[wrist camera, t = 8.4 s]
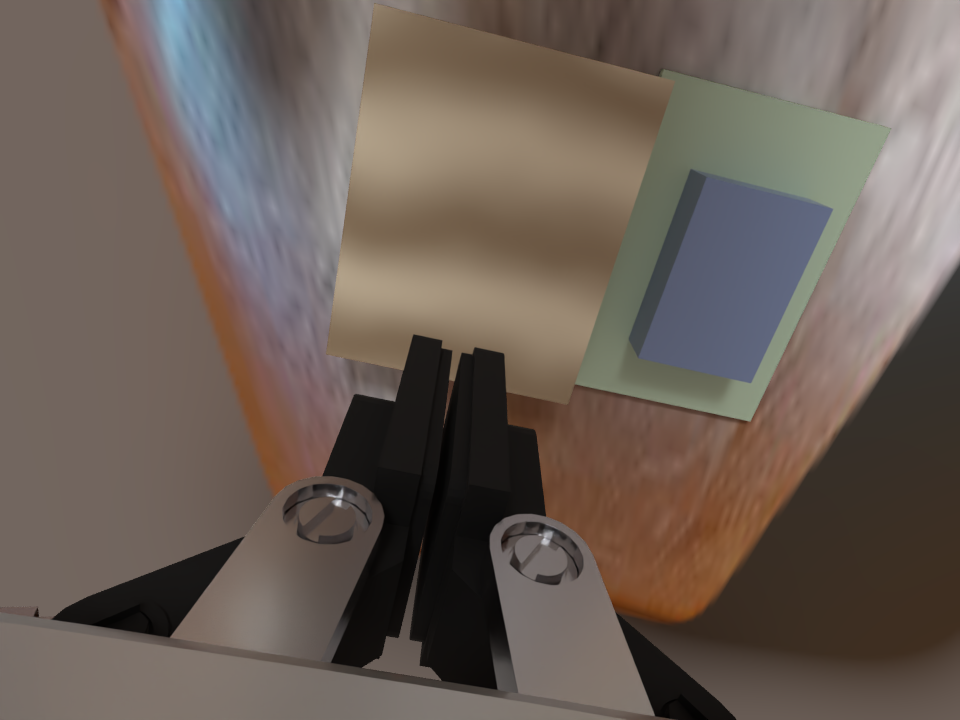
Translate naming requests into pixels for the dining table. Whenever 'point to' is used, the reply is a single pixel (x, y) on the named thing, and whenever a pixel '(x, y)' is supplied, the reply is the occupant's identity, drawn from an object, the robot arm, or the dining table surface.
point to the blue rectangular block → (725, 275)
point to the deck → (487, 198)
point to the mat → (743, 157)
